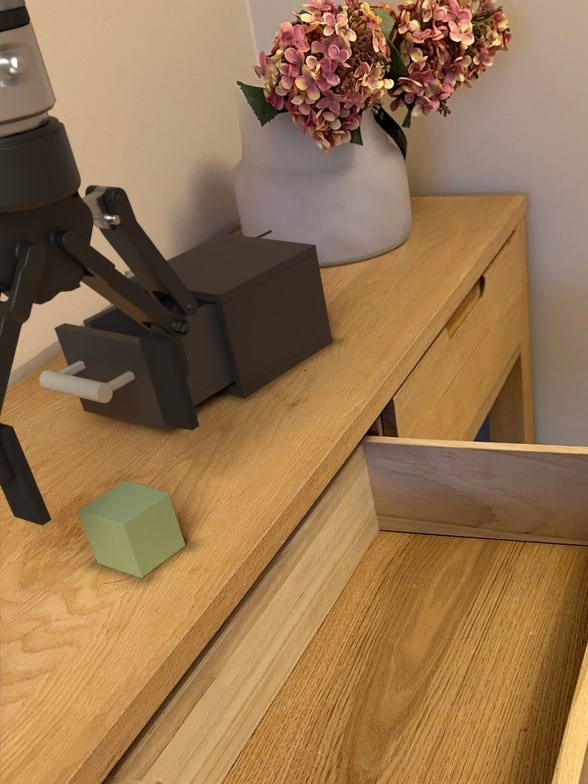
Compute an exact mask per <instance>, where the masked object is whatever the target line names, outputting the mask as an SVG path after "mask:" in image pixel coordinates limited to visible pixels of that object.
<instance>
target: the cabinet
mask: <svg viewBox="0 0 588 784" xmlns="http://www.w3.org/2000/svg"><path fill="white" fill-rule="evenodd" d="M255 237H256V236H255ZM255 237H254V236H247V235H239V234H230V233H223V234H221V235H218V236H216V237H214V238H212V239H210V240H208V241H205V242H204V243H201V244H199V245H197V246H195V247H192V248H190V249H188V250H186V251H184V252H182V253H180V254H177V255H175V256H173V257H172V258H169V259H167V260H166V261H167V262H168V264H169V265H170V266H171V268H172V269H173V270H174V272H175V273H176V274H177V276H178V277H179V278H180V280H181V281H182V282H183V284H184V285H185V287H186V288H187V289H188V291H189V292H190V293H191V295H192V296H193V297H194V299H196V300H202V301H208V302H214V303H216V307H217V311H218V315H219V319H220V323H221V328H222V332H223V336H224V340H225V344H226V348H227V352H228V356H229V360H230V364H231V368H232V372H233V376H234V380H235V381H234V382H232V383H231V384H229V385H227V386H226V387H224V388H223V389H221V390H219V391H218V393H221V394H226V395H231V396H235V397H239V398H244V399H245V398H247V397H248V396H250V395H252V394H253V393H255V392H256V391H258V390H259V389H261V388H262V387H264V386H266V385H267V384H268V383H270V382H272V381H273V380H275V379H276V378H278V377H279V376H281V375H283V374H285V373H286V372H287V371H289V370H290V369H292V368H294V367H295V366H297V365H298V364H300V363H301V362H303V361H304V360H306V359H308V358H309V357H311V356H313V355H314V354H315V353H317V352H320V350H322V349H324V348H325V347H327V346H328V345H330V344H332V343H333V337H332V336H333V335H332V331H331V326H330V320H329V314H328V308H327V302H326V297H325V291H324V290H325V289H324V286H323V285H324V284H323V280H322V276H321V268H320V262H319V258H318V251H317V250H318V249H317V245H316V244H311V243H303V242H296V241H295V242H294V241H287V240H278V239H271V238H263V237H261V238H255ZM128 279H130V280H131V281H132V282H133V283H135V284H136V285H137V286H139V287H140V288H141V289H142V290H144V291H147V290H146V289H145V288H144V286H143V285H142V284H141V283H140V281H139V280H138V279H137V278H136V276H132V277H130V278H128ZM147 292H148V291H147Z"/></svg>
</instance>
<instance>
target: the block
mask: <svg viewBox="0 0 588 784" xmlns="http://www.w3.org/2000/svg"><path fill="white" fill-rule="evenodd" d="M77 515H78V517H79V519H80V522H81V525H82V527H83V529H84V532H85V534H86V537H87V539H88V542H89V544H90V547H91V550H92V553H93V555H94V557H95V560H96V563H97V564H99V565H102V566H104V567H107V568H111V569H113V570H117V571H119V572H122V573H125V574H128V575H131V576H134V577H137V578H140V579H143V578H144V577H145V576H147V575H148V574H149V573H151V572H152V571H154V570H156V569H157V568H158V567H159V566H160V565H162V564H163V563H165V562H166V561H167V560H168V559H170V558H171V557H173V556H174V555H175V554H176V553H178V552H179V551H181V550H182V549H183V548H185V547H186V542H185V539H184V536H183V534H182V530H181V526H180V524H179V520H178V517H177V514H176V511H175V508H174V505H173V501H172V498H171V495H170V493H169V492H167V491H163V490H159V489H157V488H153V487H150V486H146V485H142V484H138V483H135V482H131V481H129V480H122V481H121V482H119V483H117V484H116V485H115V486H113V487H112V488H110V489H109V490H107V491H105V492H104V493H102V494H101V495H99V496H97V497H96V498H95V499H92V500H91V501H90V502H88V503H87V504H85V505H83V506H82V507H80V508H79V509H77Z"/></svg>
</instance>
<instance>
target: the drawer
mask: <svg viewBox="0 0 588 784" xmlns="http://www.w3.org/2000/svg"><path fill="white" fill-rule="evenodd" d="M145 292H146V293H148V292H147V291H145ZM148 294H149V293H148ZM149 295H150V294H149ZM150 296H151V295H150ZM151 297H152V296H151ZM195 300H196V299H195ZM196 302H197V304H198V311H197V313H196V314H195V315H194V316H188V317H187V318H186V319H187V320H188V321H189V322H190V326H191V329H190V333H189V334H188V335H187V336H185V337H183V336H181V339H182V342H183V346H184V350H185V353H186V354H185V355H186V357H187V360H188V364H189V367H190V373H189V376H188V377H186V380H187V384H188V388H189V391H190V395H191V398H192V402H193V405H194V407H196V406H197V405H199V404H200V403H201V402H203V401H205V400H206V399H208V398H209V397H211V396H213V395H214V394H216V393H217V392H218V391H219V390H221V389H223V388H224V387H226V386H227V385H229V384H231V383H232V382H234V381H235V380H234V376H233V372H232V368H231V364H230V360H229V356H228V352H227V348H226V344H225V340H224V336H223V332H222V328H221V323H220V319H219V315H218V311H217V307H216V303H214V302H208V301H202V300H196ZM82 322H83V326H82V325H77V324H73V323H67V322H63V323H62V324H59V325H57V326H56V327H54V331H55V334H56V338H57V340H58V343H59V345H60V348H61V351H62V353H63V356H64V359H65V362H66V364H67V366H66V367H65V368H63V369H61V370H58V371H54V370H49V369H46V370H43V371H42V372H41V373H40V375H39V377H38V378H39V379H38V382H39V385H40V386H41V388H43V389H44V390H47V391H52V392H56V393H59V394H63V395H64V394H65V395H69V396H72V397H77V398H79V401H80V403H81V406H82V409H83V412H86V413H91V414H94V415H98V416H102V417H106V418H111V419H114V420H118V421H121V422H122V421H123V422H126V423H131V424H135V425H138V426H142V427H146V428H151V429H155V430H159V431H163V432H169V431H170V430H172V429H173V428H175V427H174V426H170V425H166V424H165V422H164V419H163V416H162V413H161V409H160V406H159V403H158V400H157V396H156V393H155V390H154V387H153V383H152V380H151V377H150V374H149V371H148V367H147V364H146V361H145V358H144V354H143V351H142V348H141V345H140V341H139V338H140V337H142V336H143V335H145V334H149V335H152V332H151V331H150V330H147V329H146V328H145V327H143V326H142V325H141V324H139V323H138V322H136V321H135V320H134V319H132V318H131V317H130V316H128V315H127V314H125V313H124V312H123V311H121V310H120V309H119V308H117V307H116V306H110V307H108V308H106V309H103V310H102V311H99V312H98V313H95V314H94V315H91V316H89V317H87V318H85V319H83V320H82ZM218 393H219V392H218Z"/></svg>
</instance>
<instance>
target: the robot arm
mask: <svg viewBox="0 0 588 784" xmlns="http://www.w3.org/2000/svg"><path fill="white" fill-rule="evenodd" d="M26 4H27V3H26V1H25V0H0V298H1V297H2V294H3V295H4V296H5V297H7V299H6V300H0V416H1V415H2V411H3V406H4V402H5V397H6V393H7V389H8V385H9V382H10V376H11V373H12V368H13V366H14V365H13V364H14V360H15V357H16V351H17V347H18V344H19V338H20V334H21V332H22V331H21V330H22V327H23V325H24V324H25V323H26V322H28V321H29V319H30V317H31V313H32V310H33V305H39V306H40V305H41V306H42V305H44V304H46V303H48V302H51V301H52V300H53V299H54V298H55V297H56V296H58V295H59V294H60V293H67V292H73V291H75V290H77V289H79V288H81V287H82V286H81V283H82V284H84V285H86V286H87V287H89V289H91V290H93V291H94V292H95V293H97V294H98V295H99V296H101V297H102V298H104V299H105V300H106V301H108V302H109V303H110V304H111V303H112V304H113V305H114V306H116V307H117V308H119V309H120V310H121V311H123V312H124V313H125V314H127V315H128V316H130V317H131V318H132V319H134V320H135V321H136V322H138V323H139V324H141V325H142V326H143V327H145V328H146V329H147V330H150V331H151V332H152V335H149V334H145V335H143V336H142V337H140V338H139V341H140V345H141V348H142V351H143V354H144V358H145V361H146V364H147V367H148V371H149V374H150V377H151V380H152V383H153V387H154V390H155V393H156V396H157V400H158V403H159V406H160V409H161V413H162V416H163V419H164V422H165V424H166V425H170V426H174V428H179V429H182V430H188V431H194V430H196V429H198V428H200V422H199V419H198V416H197V413H196V409H195V406H194V405H193V402H192V398H191V395H190V391H189V388H188V384H187V380H186V377H188V376H189V373H190V367H189V364H188V360H187V357H186V355H185V354H186V353H185V350H184V346H183V342H182V339H181V336H183V337H185V336H187V335H188V334H189V333H190V329H191V326H190V322H189V321H188V320H187V319H186V318H187V317H188V316H194V315H195V314H196V313H197V311H198V304H197V302H196V300H195V299H194V297H193V296H192V295H191V293H190V292H189V291H188V289H187V288H186V287H185V285H184V284H183V282H182V281H181V280H180V278H179V277H178V276H177V274H176V273H175V272H174V270H173V269H172V268H171V266H170V265H169V264H168V262H167V260H166V258H165V257H164V255H162V252H160V250H159V249H158V248H157V246H156V245H155V243H154V241H152V240H151V238H150V237H149V235H148V234H147V232H146V230H144V228H143V227H142V226H141V225H140V223H139V222H138V220H137V217H136V215H135V212H134V209H133V207H132V204H131V202H130V199H129V197H128V194H127V191H126V190H125V189H124V188H122V187H119V186H118V187H117V186H107V185H99V184H98V185H97V184H90V185H88V186H87V187H86V189H85V191H84V196H83V197H81V194H80V193H79V189H80V187H81V184H82V178H81V174H80V171H79V168H78V164H77V162H76V158H75V155H74V151H73V149H72V146H71V142H70V139H69V136H68V133H67V129H66V125H65V124H64V123H63V122H61V121H60V120H59V118H57V117H56V116H53V115H50V114H49V111H51V110H52V109H53V108H54V106H55V104H56V102H57V99H56V95H55V92H54V90H53V87H52V83H51V79H50V76H49V73H48V70H47V67H46V64H45V60H44V57H43V54H42V51H41V48H40V45H39V41H38V39H37V35H36V32H35V29H34V26H33V22H32V20H31V16H30V13H29V10H28V8H27V5H26ZM94 227H95V228H97V229H99V231H100V233H101V234H102V236H103V237H104V239H105V240H106V241H107V242H108V244H109V245H110V246H111V247H112V249H113V250H114V251H115V253H116V254H117V255H118V256H119V257H120V259H121V260H122V261H123V262H124V264H125V265H126V266H127V267H128V269H129V270H131V271H132V272H133V274H134V275H135V276H136V278H137V279H138V280H139V281H140V283H141V284H142V285H143V286H144V288H145V289H146V290H147V291H148V293H149V294H150V295H151V296H152V297H151V296H150V295H149V294H148V293H146V292H145V291H144V290H142V289H141V288H140V287H139V286H137V285H136V284H135V283H133V282H132V281H131V280H130V279H128V278H127V277H126V276H124V275H123V274H122V273H121V272H122V271H120V270H118V269H116V264H115V263H114V262H112V260H110V259H109V258H107V257H106V256H105V255H104V254H102V253H101V252H100V251H98V250H97V249H96V248H95V247H94V246H92V245H91V241H92V235H93V230H94ZM0 489H1V490H2V492H3V495H4V497H5V500H6V502H7V504H8V506H9V508H10V511H11V514H12V515H13V517H14V518H17V519H19V520H22V521H26V522H29V523H33V524H35V525H39V526H41V527H43V526H45V525H46V524H47V523H49V522H51V521H52V517H51V515H50V513H49V510H48V507H47V505H46V502H45V500H44V498H43V495H42V493H41V490H40V488H39V486H38V483H37V481H36V478H35V476H34V473H33V471H32V469H31V466H30V464H29V462H28V459H27V457H26V455H25V452H24V450H23V447H22V445H21V443H20V440H19V437H18V435H17V432H16V431H15V428H14V426H13V425H10V424H6V423H2V422H0Z"/></svg>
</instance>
